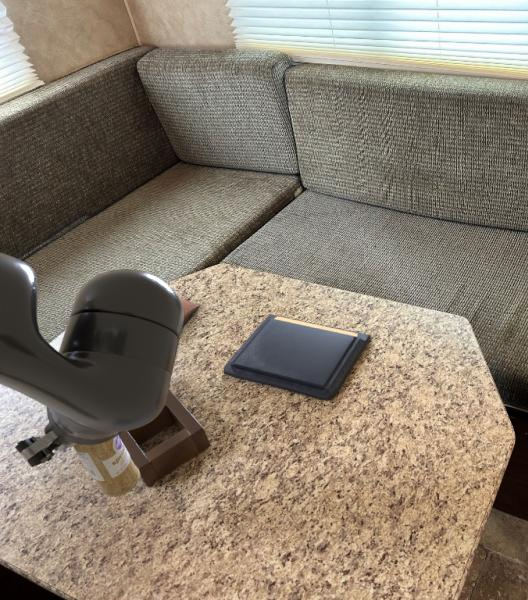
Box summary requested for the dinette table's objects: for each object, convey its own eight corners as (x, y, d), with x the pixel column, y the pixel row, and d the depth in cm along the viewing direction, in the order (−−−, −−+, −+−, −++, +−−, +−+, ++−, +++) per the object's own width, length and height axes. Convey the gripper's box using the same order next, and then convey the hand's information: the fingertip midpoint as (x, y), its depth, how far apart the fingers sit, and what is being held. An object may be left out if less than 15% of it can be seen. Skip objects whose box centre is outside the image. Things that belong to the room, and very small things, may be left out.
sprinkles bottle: (143, 488, 71) (99, 412, 63) (103, 505, 70) (52, 429, 61) (138, 460, 74) (95, 384, 66) (100, 475, 73) (51, 400, 65)
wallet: (217, 365, 96) (270, 306, 106) (220, 373, 97) (272, 314, 108) (327, 396, 89) (372, 330, 99) (329, 405, 90) (373, 338, 100)
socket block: (147, 487, 81) (137, 470, 79) (99, 418, 92) (88, 400, 89) (211, 445, 86) (203, 427, 83) (158, 383, 96) (149, 366, 94)
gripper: (138, 318, 58) (116, 361, 71) (-13, 415, 49) (-5, 442, 63) (189, 379, 58) (157, 410, 72) (48, 485, 50) (42, 497, 64)
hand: (81, 425), depth 67 cm, fingers closed on sprinkles bottle, 4 cm apart
